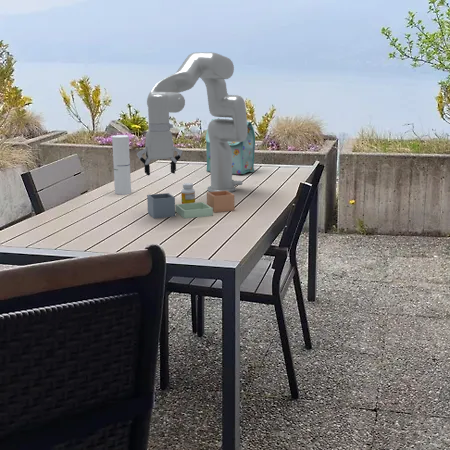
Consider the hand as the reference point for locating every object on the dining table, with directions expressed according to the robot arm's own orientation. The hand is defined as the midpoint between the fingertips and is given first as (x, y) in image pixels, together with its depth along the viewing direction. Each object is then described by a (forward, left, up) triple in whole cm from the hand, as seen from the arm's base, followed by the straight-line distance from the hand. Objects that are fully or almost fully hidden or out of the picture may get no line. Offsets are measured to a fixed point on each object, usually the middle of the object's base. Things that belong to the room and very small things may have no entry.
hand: (160, 173), depth 253 cm
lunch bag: (-58, -76, -17) cm, 97 cm away
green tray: (-12, +3, -17) cm, 21 cm away
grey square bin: (0, 0, -17) cm, 17 cm away
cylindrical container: (+4, -48, -17) cm, 51 cm away
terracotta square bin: (-24, 0, -17) cm, 29 cm away
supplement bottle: (-14, -10, -17) cm, 24 cm away
